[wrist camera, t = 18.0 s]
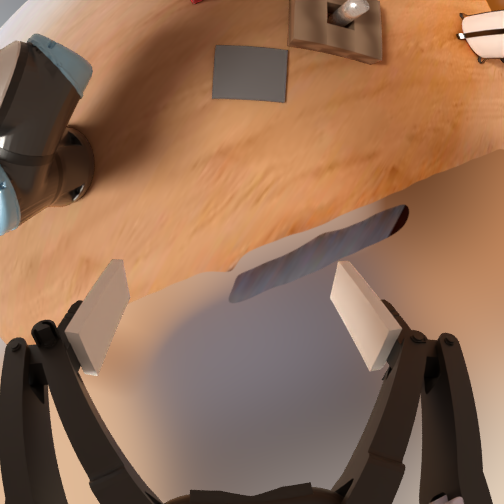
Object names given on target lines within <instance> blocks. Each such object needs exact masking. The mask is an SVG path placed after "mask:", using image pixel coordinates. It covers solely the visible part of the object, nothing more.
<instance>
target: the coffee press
mask: <svg viewBox="0 0 504 504" xmlns="http://www.w3.org/2000/svg"><path fill="white" fill-rule="evenodd" d="M463 14H464V13H460V17H461V18H463V21H462V29H463V34H456V35H457V37H458V39H466V40H467V42H468V44H469V45H470V47H471V48H472V49H473V51H474V52H475V53H476V54H478V55H479V58H478V62H479V63H485V61H486V60H487V59H500V60H501V61H502V62H503V63H504V10H498V11H491V12H485V13H479V14H474V15H466V14H464V15H466V16H469V17H465V18H464V17H463ZM481 57H483V58H487V59H484V60H483V61H482V62H481Z"/></svg>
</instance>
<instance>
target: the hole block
mask: <svg viewBox="0 0 504 504" xmlns="http://www.w3.org/2000/svg"><path fill="white" fill-rule="evenodd" d="M346 1H347V0H289V23H288V45H287V46H290V47H297V48H303V49H309V50H314V51H319V52H324V53H329V54H333V55H337V56H341V57H345V58H349V59H353V60H356V61H360V62H363V63H367V64H373V63H377V62H380V61H382V28H381V12H380V1H378V0H366V1H367V2H368V4H369V10H368V11H366V12H365V13H363V14H362V15H360V16H359V17H357V18H356V19H354V20H353V21H352V22H350V23H349V24H347V25H346V26H344V27H340V26H336V25H332V24H328V23H327V12H328V13H332V14H333V13H334V12H335V11H336V10H337V9H338V8H339V7H341V6H342V5H343V4H344V3H345V2H346Z"/></svg>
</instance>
